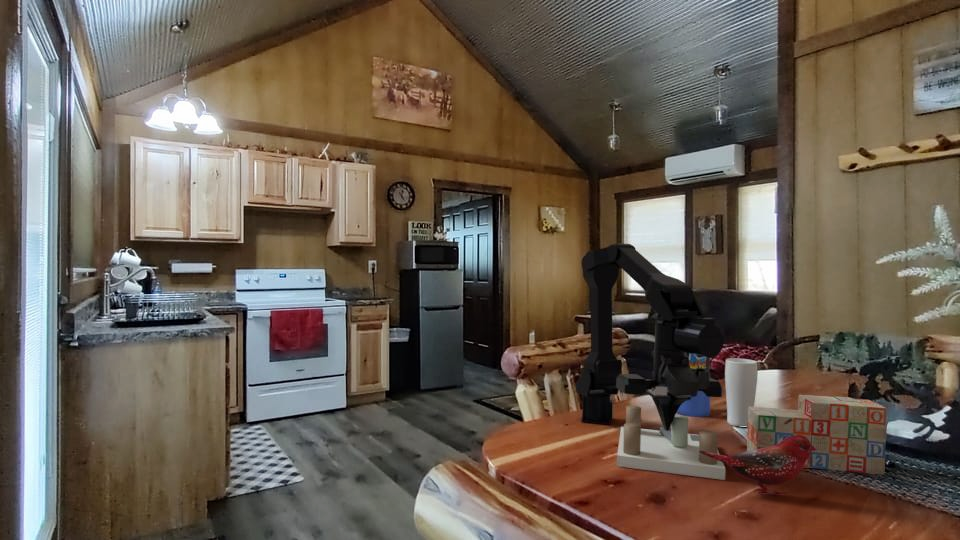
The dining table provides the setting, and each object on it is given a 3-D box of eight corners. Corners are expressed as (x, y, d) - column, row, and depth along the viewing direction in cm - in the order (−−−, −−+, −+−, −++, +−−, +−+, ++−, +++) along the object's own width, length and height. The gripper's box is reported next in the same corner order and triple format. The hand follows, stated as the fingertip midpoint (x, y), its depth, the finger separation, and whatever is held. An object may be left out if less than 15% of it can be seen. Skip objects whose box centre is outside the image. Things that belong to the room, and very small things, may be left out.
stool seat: (616, 466, 96) (617, 427, 96) (620, 435, 113) (621, 403, 113) (725, 480, 91) (726, 439, 91) (712, 446, 108) (712, 411, 108)
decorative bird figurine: (819, 502, 83) (821, 439, 83) (700, 492, 86) (701, 430, 86) (811, 494, 85) (813, 433, 85) (696, 484, 89) (697, 425, 88)
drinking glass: (748, 421, 126) (750, 358, 126) (761, 430, 119) (762, 363, 119) (719, 420, 126) (720, 357, 126) (729, 428, 120) (731, 362, 120)
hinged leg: (656, 430, 109) (657, 406, 109) (670, 431, 110) (671, 407, 109) (674, 446, 100) (675, 420, 100) (690, 446, 100) (691, 420, 100)
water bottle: (667, 405, 139) (669, 310, 138) (704, 407, 137) (707, 311, 137) (675, 415, 129) (678, 313, 129) (715, 418, 128) (718, 315, 128)
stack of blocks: (755, 464, 99) (757, 398, 99) (746, 452, 105) (747, 390, 105) (885, 475, 95) (887, 406, 94) (867, 462, 101) (869, 398, 101)
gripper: (637, 353, 92) (632, 442, 92) (740, 357, 93) (736, 445, 94) (617, 344, 104) (613, 424, 104) (709, 347, 105) (706, 426, 105)
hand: (666, 430), depth 101 cm, fingers closed
